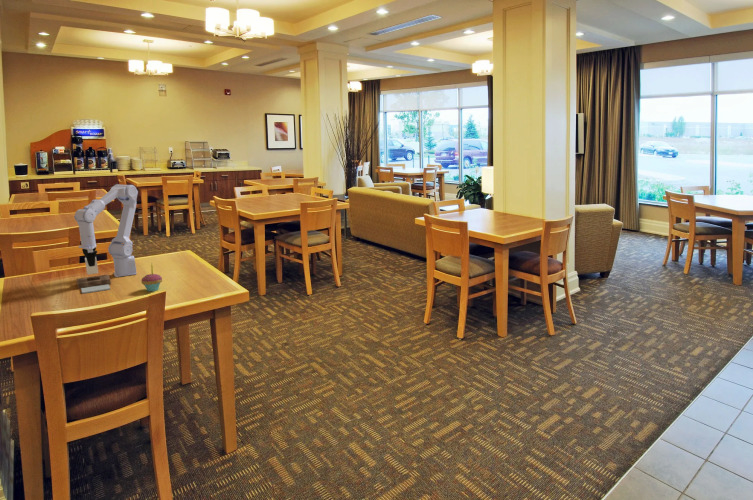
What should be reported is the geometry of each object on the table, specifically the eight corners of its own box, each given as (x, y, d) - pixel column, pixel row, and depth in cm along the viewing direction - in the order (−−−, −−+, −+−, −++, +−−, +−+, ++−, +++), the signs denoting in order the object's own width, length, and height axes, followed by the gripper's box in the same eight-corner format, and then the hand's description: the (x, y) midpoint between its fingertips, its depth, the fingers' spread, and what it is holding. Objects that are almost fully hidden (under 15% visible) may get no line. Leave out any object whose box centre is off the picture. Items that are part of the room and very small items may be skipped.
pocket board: (108, 279, 243) (108, 274, 242) (110, 284, 236) (110, 279, 235) (77, 284, 236) (76, 278, 236) (78, 289, 229) (77, 283, 228)
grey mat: (108, 285, 234) (108, 284, 234) (110, 289, 228) (110, 288, 228) (81, 289, 228) (81, 288, 228) (82, 293, 222) (82, 292, 222)
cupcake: (146, 287, 232) (143, 261, 229) (165, 286, 232) (163, 261, 229) (139, 293, 223) (136, 266, 220) (159, 292, 224) (157, 266, 221)
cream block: (97, 270, 238) (95, 256, 236) (98, 273, 234) (96, 258, 232) (86, 272, 235) (84, 257, 234) (87, 274, 232) (85, 259, 230)
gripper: (76, 233, 234) (80, 262, 238) (78, 239, 223) (82, 269, 226) (93, 232, 238) (97, 260, 241) (96, 237, 226) (100, 267, 229)
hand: (91, 264), depth 234 cm, fingers closed on cream block, 4 cm apart
